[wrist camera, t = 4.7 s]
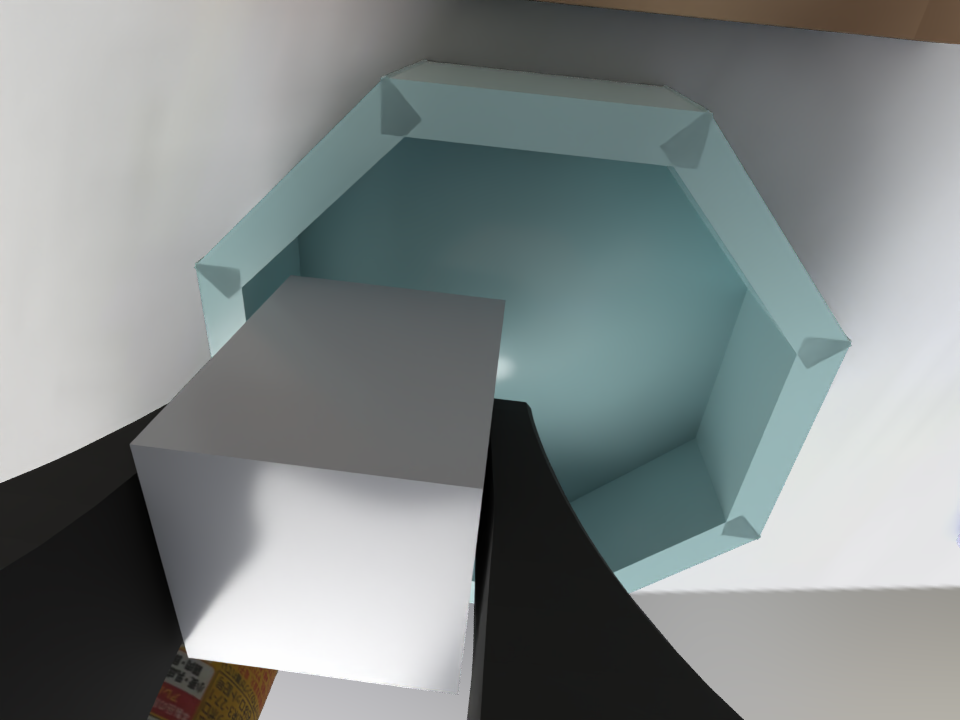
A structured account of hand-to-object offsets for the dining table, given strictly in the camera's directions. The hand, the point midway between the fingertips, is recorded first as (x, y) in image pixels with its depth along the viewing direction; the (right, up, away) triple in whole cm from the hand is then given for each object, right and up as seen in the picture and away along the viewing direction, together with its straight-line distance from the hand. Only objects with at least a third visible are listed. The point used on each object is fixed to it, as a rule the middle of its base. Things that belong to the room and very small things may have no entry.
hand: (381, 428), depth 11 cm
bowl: (+3, +2, +4) cm, 5 cm away
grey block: (0, +1, +1) cm, 1 cm away
